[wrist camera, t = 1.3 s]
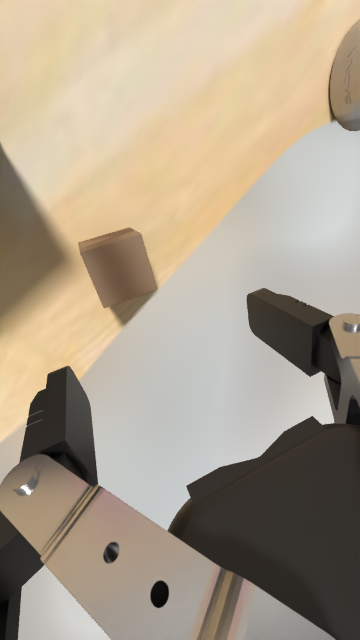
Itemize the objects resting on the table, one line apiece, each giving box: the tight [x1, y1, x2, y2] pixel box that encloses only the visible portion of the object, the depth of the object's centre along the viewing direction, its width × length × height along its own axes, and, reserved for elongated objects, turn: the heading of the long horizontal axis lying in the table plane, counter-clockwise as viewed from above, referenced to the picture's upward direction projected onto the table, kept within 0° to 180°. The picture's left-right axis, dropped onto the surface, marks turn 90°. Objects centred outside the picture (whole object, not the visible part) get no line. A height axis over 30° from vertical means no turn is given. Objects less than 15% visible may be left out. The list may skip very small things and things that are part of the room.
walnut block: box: [78, 228, 157, 308], centre depth 24 cm, size 5×5×5 cm
